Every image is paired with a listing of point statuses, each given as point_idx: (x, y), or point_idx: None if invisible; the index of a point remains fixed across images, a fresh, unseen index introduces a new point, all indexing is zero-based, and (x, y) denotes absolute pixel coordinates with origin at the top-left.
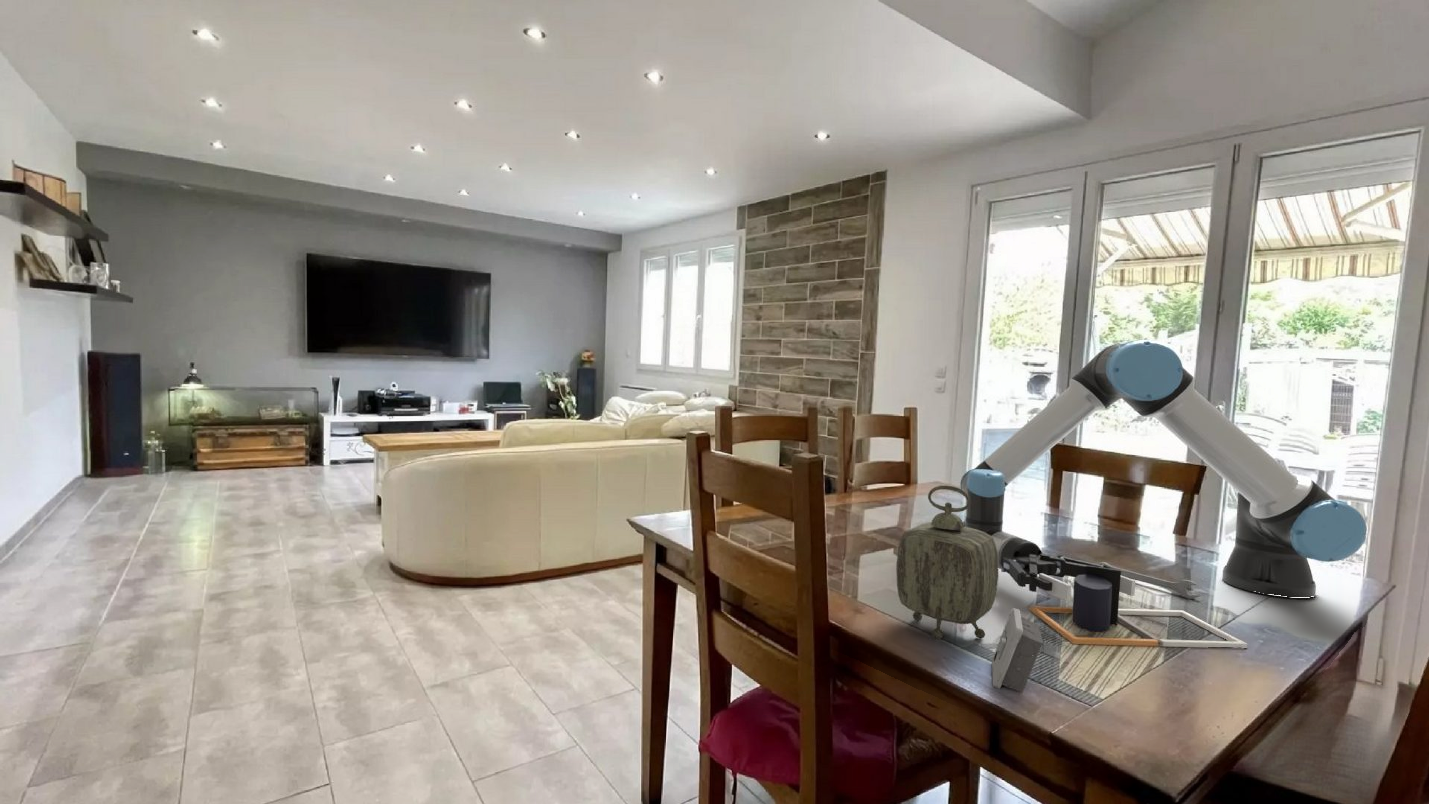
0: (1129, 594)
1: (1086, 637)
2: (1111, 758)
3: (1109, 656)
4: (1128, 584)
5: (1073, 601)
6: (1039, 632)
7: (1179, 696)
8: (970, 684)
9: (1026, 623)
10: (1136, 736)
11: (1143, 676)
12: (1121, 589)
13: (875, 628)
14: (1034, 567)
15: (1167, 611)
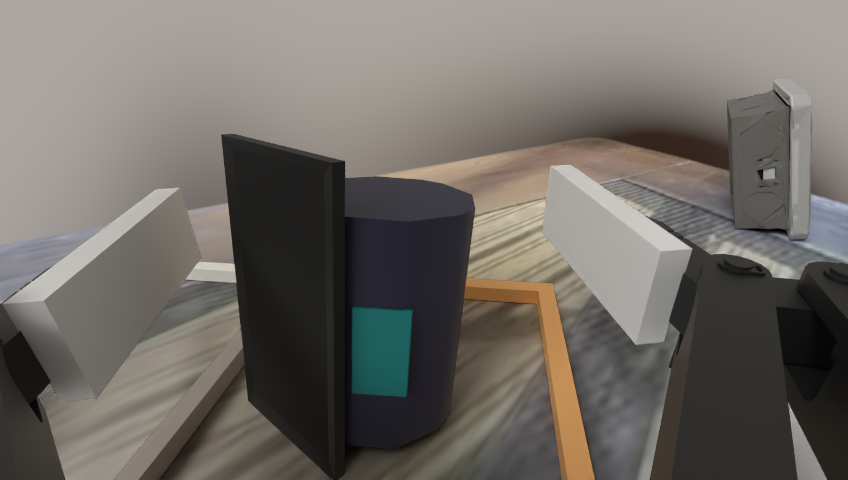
0: (196, 258)
1: (504, 288)
2: (636, 147)
3: (490, 254)
4: (179, 218)
5: (453, 334)
6: (730, 108)
7: (467, 187)
8: (833, 206)
9: (762, 107)
10: (591, 157)
11: (478, 212)
12: (173, 275)
13: None
14: (718, 386)
15: None
